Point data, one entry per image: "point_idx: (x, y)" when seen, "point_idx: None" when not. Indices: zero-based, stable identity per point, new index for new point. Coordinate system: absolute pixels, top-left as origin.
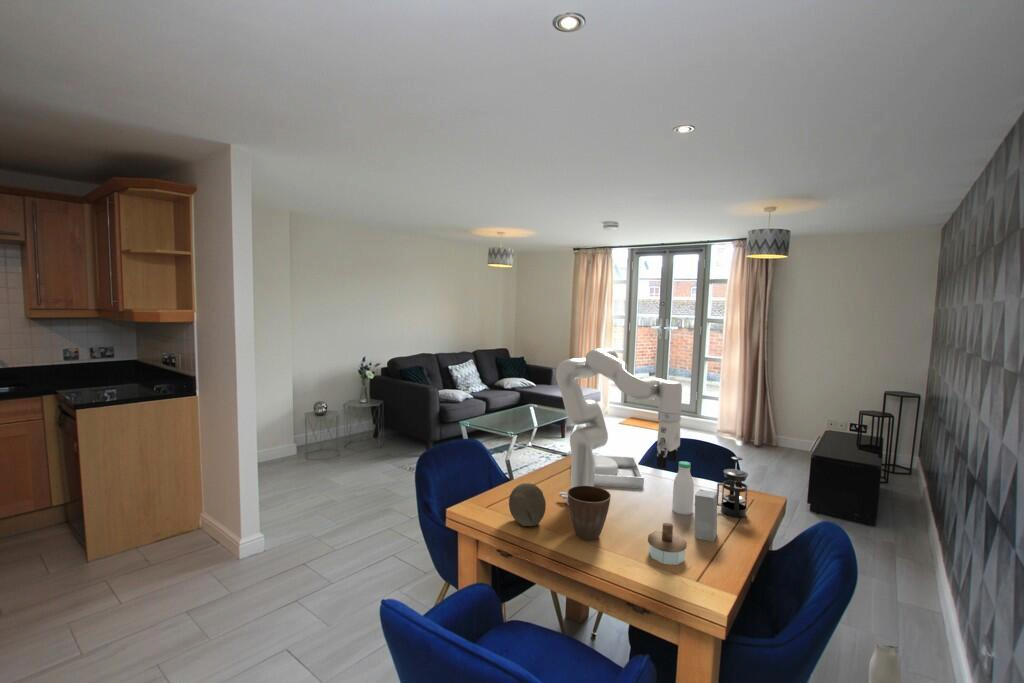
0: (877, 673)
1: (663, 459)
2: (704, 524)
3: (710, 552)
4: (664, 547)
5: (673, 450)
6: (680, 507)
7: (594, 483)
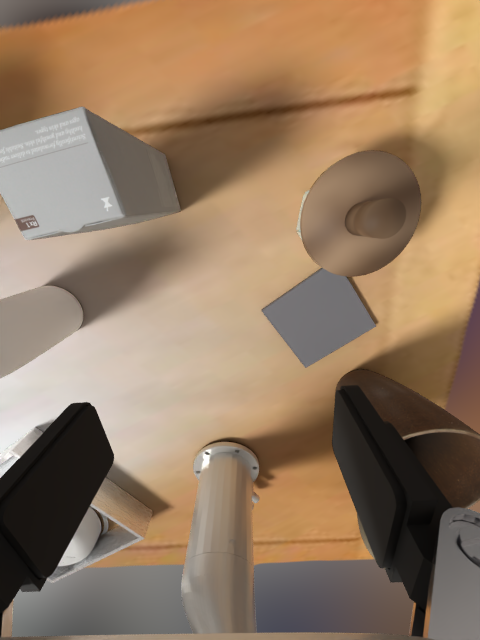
0: None
1: (436, 491)
2: (158, 176)
3: (225, 136)
4: (416, 201)
5: (2, 554)
6: (69, 311)
7: (121, 495)
